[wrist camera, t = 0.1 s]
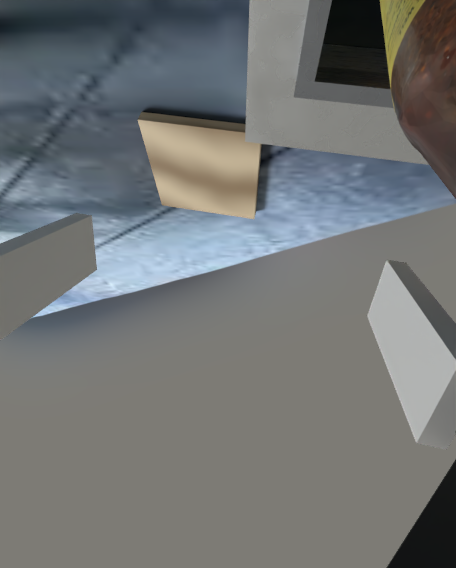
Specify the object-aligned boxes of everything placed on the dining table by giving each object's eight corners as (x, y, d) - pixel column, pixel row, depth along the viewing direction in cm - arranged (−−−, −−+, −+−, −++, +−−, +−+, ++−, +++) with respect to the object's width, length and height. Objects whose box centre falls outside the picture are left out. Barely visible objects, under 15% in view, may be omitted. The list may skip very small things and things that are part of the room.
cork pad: (141, 111, 26) (137, 119, 26) (263, 126, 25) (261, 134, 25) (164, 198, 35) (162, 205, 35) (255, 211, 34) (254, 219, 34)
